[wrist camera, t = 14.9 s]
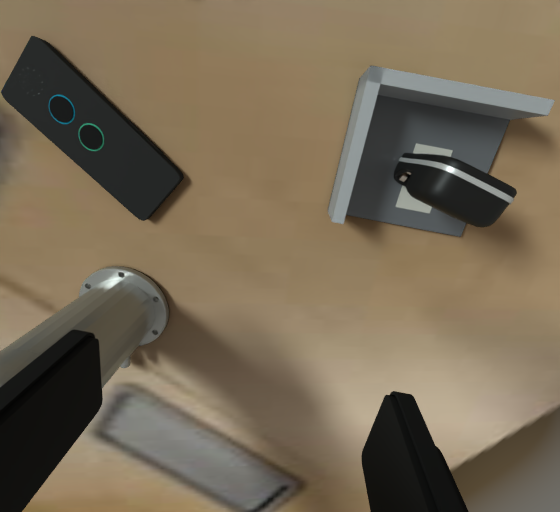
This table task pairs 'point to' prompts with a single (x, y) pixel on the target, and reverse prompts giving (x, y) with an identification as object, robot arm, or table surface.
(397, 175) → the battery charger
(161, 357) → the table surface
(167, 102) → the table surface
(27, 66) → the smart home device
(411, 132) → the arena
